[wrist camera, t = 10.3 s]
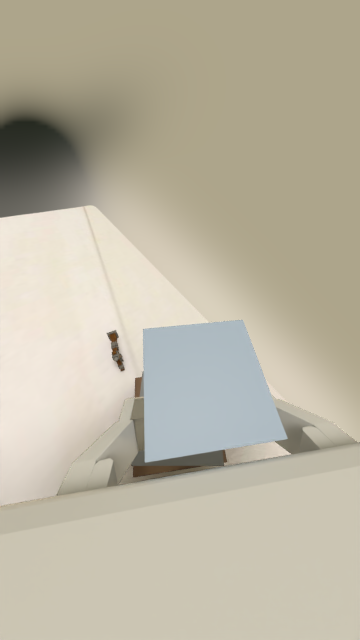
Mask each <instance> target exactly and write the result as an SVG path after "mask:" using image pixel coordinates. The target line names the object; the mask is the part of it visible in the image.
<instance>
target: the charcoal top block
mask: <svg viewBox="0 0 360 640" xmlns="http://www.w3.org/2000/svg"><path fill="white" fill-rule="evenodd" d="M140 397H144V371H143V373H142V382H141V390H140ZM131 466H224V460H223V450H218V451H212V452H206V453H200V454H194V455H188V456H182V457H176V458H170V459H164V460H158V461H152V462H146V463H145V450H143V451H138V453H137V455H136V457H135V458H134V460H133V462H132V463H131Z"/></svg>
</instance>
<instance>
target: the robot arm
mask: <svg viewBox="0 0 360 640" xmlns="http://www.w3.org/2000/svg"><path fill="white" fill-rule="evenodd" d="M271 396H272V399H273V401H274V404H275V406H276V409H277V412H278V414H279V417H280V420H281V422H282V425H283V428H284V430H285V433H286V436H287V438H288V439H285V440H279V441H275V442H276V443H277V444H279V445H280V446H281V447H283V448H284V449H285V450H287V451H288V452H289V453H291V455H286V456H280V457H274V458H269V459H263V460H257V461H252V462H246V463H240V464H235V465H229V466H223V467H218V468H212V469H206V470H201V471H195V472H189V473H184V474H178V475H173V476H167V477H161V478H156V479H150V480H145V481H139V482H134V483H128V484H122V485H118V484H119V483H120V481H121V479H122V478H123V476H124V475H125V473H126V471H127V470H128V468H129V466H130V465H131V463H132V462H133V460H134V458H135V457H136V455H137V453H138V451H143V450H145V438H144V397H136V398H128V399H126V400H125V402H124V405H123V408H122V412H121V415H120V418H119V422H115V423H114V424H113V425H112V426H111V427H110V428H109V429H108V430H107V431H106V432H105V433H104V434H103V435H102V436H101V437H100V438H98V439H97V440H96V441H95V442H94V443H93V444H92V445H91V446H90V447H89V448H88V449H87V450H86V451H85V452H84V453H83V454H82V455H81V456H79V457H78V458H77V459H76V460H75V461H74V462H73V463H72V465H71V467H70V469H69V471H68V473H67V475H66V477H65V479H64V481H63V483H62V485H61V487H60V489H59V492H58V494H57V496H54V497H48V498H43V499H37V500H31V501H26V502H20V503H14V504H9V505H3V506H0V640H360V442H359V443H358V442H356V441H355V440H354V439H353V438H351V437H350V436H349V435H348V434H347V433H345V432H344V431H343V430H342V429H341V428H339V427H338V426H337V425H336V424H334V423H333V422H331V421H329V420H327V419H324V418H322V417H320V416H318V415H315V414H313V413H311V412H308V411H306V410H303V409H301V408H299V407H296V406H294V405H292V404H289V403H287V402H285V401H282V400H280V399H275V398H274V396H273V395H272V394H271Z"/></svg>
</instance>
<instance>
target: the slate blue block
mask: <svg viewBox="0 0 360 640" xmlns="http://www.w3.org/2000/svg"><path fill="white" fill-rule="evenodd" d="M143 361H144V438H145V463H146V462H152V461H158V460H164V459H170V458H176V457H182V456H188V455H194V454H200V453H206V452H212V451H218V450H224V449H230V448H236V447H242V446H248V445H255V444H261V443H267V442H273V441H279V440H285V439H288V438H287V436H286V433H285V430H284V428H283V425H282V422H281V420H280V417H279V414H278V412H277V409H276V406H275V404H274V401H273V399H272V396H271V393H270V391H269V388H268V385H267V383H266V380H265V377H264V375H263V372H262V369H261V367H260V364H259V361H258V359H257V356H256V353H255V351H254V348H253V346H252V343H251V340H250V338H249V335H248V332H247V330H246V327H245V325H244V322H243V320H235V321H224V322H214V323H203V324H192V325H181V326H170V327H160V328H149V329H143Z"/></svg>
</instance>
